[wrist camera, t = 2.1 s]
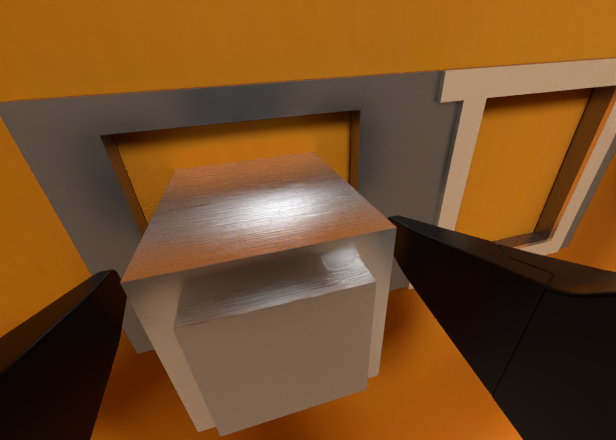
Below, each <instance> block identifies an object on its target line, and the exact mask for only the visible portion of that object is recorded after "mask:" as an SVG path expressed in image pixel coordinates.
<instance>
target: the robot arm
mask: <svg viewBox="0 0 616 440" xmlns="http://www.w3.org/2000/svg"><path fill="white" fill-rule="evenodd" d="M387 219H388V220H389V221H390V222H391V223H392V224H393V225H395V226H396V227H397V230H396V238H395V246H394V254H393V256H394V258H395V260H396V261H397V263H398V265H399V267H400V268H401V270H402V272H403V273H404V275H405V276H406V278H407V279H408V281H409V282H410V284H411V285H412V286H413V288H414V289H415V290H416V292H417V293H418V295H419V296H420V297H421V299H422V300H423V301H424V303H425V304H426V306H427V307H428V308H429V310H430V311H431V313H432V314H433V315H434V317H435V318H436V319H437V321H438V322H439V324H440V325H441V326H442V328H443V329H444V331H445V332H446V333H447V335H448V336H449V337H450V339H451V340H452V342H453V343H454V344H455V346H456V347H457V349H458V350H459V351H460V353H461V354H462V355H463V357H464V358H465V360H466V361H467V362H468V364H469V365H470V367H471V368H472V369H473V371H474V372H475V373H476V375H477V376H478V378H479V379H480V380H481V382H482V383H483V385H484V386H485V387H486V389H487V390H488V391H489V393H490V394H491V395H492V397H493V399H494V400H495V401H496V403H497V404H498V406H499V407H500V408H501V410H502V411H503V413H504V414H505V415H506V417H507V418H508V419H509V421H510V422H511V424H512V425H513V426H514V428H515V429H516V430H517V432H518V433H519V435H520V436H521V437H522V439H523V440H616V272H612V271H607V270H602V269H598V268H594V267H590V266H585V265H581V264H577V263H573V262H568V261H564V260H560V259H556V258H552V257H548V256H544V255H539V254H535V253H531V252H528V251H524V250H520V249H517V248H513V247H509V246H506V245H502V244H497V243H495V242H491V241H488V240H484V239H481V238H477V237H474V236H470V235H467V234H463V233H460V232H456V231H452V230H449V229H445V228H442V227H438V226H435V225H431V224H428V223H424V222H421V221H417V220H414V219H410V218H407V217H403V216H399V215H396V216H390V217H388V218H387ZM120 282H121V278H120V276H119V274H118V272H117V271H116V270H113V269H110V270H105V271H100V272H97V273H96V274H94V275H93V276H91V277H90V278H88V279H87V280H85V281H84V282H82V283H81V284H80V285H78V286H77V287H75V288H74V289H72V290H71V291H69V292H68V293H66V294H65V295H63V296H62V297H60V298H59V299H57V300H56V301H54V302H53V303H51V304H50V305H48V306H47V307H45V308H44V309H42V310H41V311H39V312H38V313H37V314H35V315H34V316H32V317H31V318H29V319H28V320H26V321H25V322H23V323H22V324H20V325H19V326H17V327H16V328H14V329H13V330H11V331H10V332H8V333H7V334H5V335H4V336H2V337H1V338H0V440H90V438H91V435H92V432H93V428H94V425H95V422H96V418H97V415H98V412H99V409H100V405H101V402H102V399H103V395H104V392H105V389H106V385H107V382H108V379H109V375H110V372H111V369H112V365H113V362H114V359H115V355H116V352H117V348H118V345H119V341H120V336H121V330H122V324H123V319H124V313H125V307H126V301H127V295H126V293H125V291H124V289H123V288H122V286H121V284H120Z"/></svg>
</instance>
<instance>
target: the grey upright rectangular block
mask: <svg viewBox="0 0 616 440" xmlns="http://www.w3.org/2000/svg"><path fill="white" fill-rule="evenodd" d="M396 230H397V227H396V226H395V225H393V224H392V223H391V222H390V221H389V220H388V219H387V218H386V217H385V216H384V215H382V214H381V213H380V212H379V211H378V210H377V209H376V208H375V207H374V206H373V205H371V204H370V203H369V202H368V201H367V200H366V199H365V198H364V197H363V196H361V195H360V194H359V193H358V192H357V191H356V190H355V189H354V188H353V187H352V186H350V185H349V184H348V183H347V182H346V181H345V180H344V179H343V178H342V177H341V176H339V175H338V174H337V173H336V172H335V171H334V170H333V169H332V168H331V167H330V166H328V165H327V164H326V163H325V162H324V161H323V160H322V159H321V158H320V157H318V156H317V155H316V154H315V153H314V152H310V153H302V154H295V155H287V156H279V157H271V158H264V159H256V160H248V161H240V162H233V163H225V164H217V165H209V166H201V167H194V168H186V169H178V170H175V172H174V174H173V176H172V178H171V180H170V182H169V184H168V186H167V188H166V191H165V193H164V195H163V197H162V199H161V201H160V203H159V205H158V207H157V209H156V211H155V213H154V215H153V217H152V219H151V221H150V223H149V225H148V227H147V229H146V231H145V233H144V235H143V237H142V239H141V241H140V243H139V245H138V247H137V249H136V251H135V253H134V255H133V257H132V260H131V262H130V264H129V266H128V268H127V270H126V272H125V274H124V276H123V278H122V280H121V282H120V284H121V286H122V288H123V289H124V291H125V293H126V295H127V297H128V299H129V301H130V303H131V305H132V307H133V309H134V311H135V312H136V314H137V316H138V318H139V320H140V322H141V324H142V326H143V328H144V330H145V332H146V334H147V335H148V337H149V339H150V341H151V343H152V345H153V347H154V349H155V351H156V353H157V355H158V357H159V358H160V360H161V362H162V364H163V366H164V368H165V370H166V372H167V374H168V376H169V378H170V380H171V381H172V383H173V385H174V387H175V389H176V391H177V393H178V395H179V397H180V399H181V401H182V403H183V404H184V406H185V408H186V410H187V412H188V414H189V416H190V418H191V420H192V422H193V424H194V426H195V428H196V429H197V431H198V432H200V431H203V430H207V429H210V428H213V427H216V428H217V431H218V433H219V435H220V437H221V436H224V435H227V434H230V433H233V432H237V431H240V430H243V429H246V428H249V427H252V426H255V425H258V424H261V423H264V422H267V421H270V420H274V419H277V418H280V417H283V416H286V415H289V414H292V413H295V412H298V411H301V410H304V409H307V408H310V407H314V406H317V405H320V404H323V403H326V402H329V401H332V400H335V399H338V398H341V397H344V396H347V395H350V394H354V393H357V392H360V391H363V390H366V389H367V379H368V378H371V377H374V376H377V375H378V374H379V366H380V358H381V350H382V342H383V334H384V326H385V318H386V310H387V302H388V294H389V286H390V278H391V270H392V262H393V254H394V246H395V238H396Z"/></svg>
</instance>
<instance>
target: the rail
mask: <svg viewBox="0 0 616 440" xmlns="http://www.w3.org/2000/svg"><path fill="white" fill-rule="evenodd" d="M592 87H595V88H594V91H593V93H592V96H591V98H590V100H589V103H588V105H587V108H586V110H585V112H584V115H583V117H582V120H581V122H580V124H579V127H578V129H577V132H576V134H575V136H574V139H573V141H572V143H571V146H570V148H569V151H568V153H567V155H566V158H565V160H564V163H563V165H562V167H561V170H560V172H559V175H558V177H557V179H556V182H555V184H554V186H553V189H552V191H551V194H550V196H549V198H548V201H547V203H546V206H545V208H544V210H543V213H542V215H541V218H540V220H539V222H538V225H537V227H536V229H535V232H533V233H528V234H524V235H520V236H515V237H511V238H506V239H502V240H498V241H493V242H495V243H497V244H502V245H506V246H509V247H513V248H517V249H520V250H524V251H528V252H531V253H535V254H539V255H547V254H551V253H555V252H558V251H559V249H560V248H564V247H568V245H569V243H570V241H571V239H572V237H573V235H574V233H575V231H576V229H577V227H578V225H579V223H580V221H581V219H582V217H583V215H584V213H585V211H586V209H587V207H588V205H589V203H590V201H591V199H592V197H593V195H594V193H595V191H596V189H597V187H598V185H599V183H600V181H601V179H602V177H603V175H604V173H605V171H606V169H607V167H608V165H609V163H610V161H611V159H612V157H613V155H614V153H615V151H616V57H614V58H600V59H586V60H572V61H558V62H544V63H530V64H516V65H502V66H488V67H474V68H460V69H446V70H432V71H418V72H404V73H390V74H376V75H362V76H349V77H335V78H321V79H307V80H293V81H279V82H265V83H251V84H237V85H223V86H209V87H195V88H181V89H167V90H153V91H139V92H125V93H111V94H97V95H83V96H69V97H55V98H41V99H27V100H13V101H6V102H0V116H1V118H2V120H3V121H4V123H5V125H6V127H7V128H8V130H9V132H10V133H11V135H12V137H13V139H14V140H15V142H16V144H17V146H18V147H19V149H20V151H21V153H22V154H23V156H24V158H25V160H26V161H27V163H28V165H29V166H30V168H31V170H32V172H33V173H34V175H35V177H36V179H37V180H38V182H39V184H40V186H41V187H42V189H43V191H44V193H45V194H46V196H47V198H48V200H49V201H50V203H51V205H52V206H53V208H54V210H55V212H56V213H57V215H58V217H59V219H60V220H61V222H62V224H63V226H64V227H65V229H66V231H67V233H68V234H69V236H70V238H71V239H72V241H73V243H74V245H75V246H76V248H77V250H78V252H79V253H80V255H81V257H82V259H83V260H84V262H85V264H86V266H87V267H88V269H89V271H90V273H91V274H92V276H93V275H94V274H96V273H97V272H100V271H105V270H110V269H113V270H116V271H117V272H118V274H119V276H120V278H121V280H122V278H123V276H124V274H125V272H126V270H127V268H128V266H129V264H130V262H131V260H132V257H133V255H134V253H135V251H136V249H137V247H138V245H139V243H140V241H141V239H142V237H143V235H144V233H145V231H146V229H147V227H148V225H147V223H146V220H145V218H144V215H143V213H142V210H141V208H140V205H139V203H138V200H137V198H136V195H135V193H134V190H133V187H132V185H131V182H130V180H129V177H128V175H127V172H126V170H125V167H124V165H123V162H122V160H121V157H120V155H119V152H118V150H117V147H116V145H115V142H114V140H113V137H112V135H111V134H118V133H128V132H138V131H148V130H158V129H168V128H178V127H189V126H199V125H209V124H219V123H229V122H239V121H249V120H260V119H270V118H280V117H290V116H300V115H310V114H320V113H331V112H341V111H351V148H350V186H352V187H353V188H354V189H355V190H356V191H357V192H358V193H359V194H360V195H361V196H363V197H364V198H365V199H366V200H367V201H368V202H369V203H370V204H371V205H373V206H374V207H375V208H376V209H377V210H378V211H379V212H380V213H381V214H382V215H384V216H385V217H386V218H388V217H390V216H396V215H399V216H403V217H407V218H410V219H414V220H417V221H421V222H424V223H428V224H431V225H435V226H438V227H442V228H445V229H449V230H452V231H454V229H455V225H456V221H457V217H458V213H459V209H460V205H461V201H462V197H463V193H464V189H465V184H466V180H467V176H468V172H469V168H470V164H471V160H472V156H473V152H474V148H475V144H476V140H477V136H478V132H479V128H480V124H481V120H482V116H483V112H484V108H485V103H486V99H487V98H491V97H501V96H512V95H522V94H532V93H542V92H552V91H562V90H572V89H582V88H592ZM404 287H407V288H408V289H412V288H413V286H412V285H411V284H410V282H409V281H408V279H407V278H406V276H405V275H404V273H403V272H402V270H401V268H400V267H399V265H398V263H397V261H396V260H395V258H394V256H393V262H392V270H391V278H390V286H389V291H392V290H396V289H400V288H404ZM122 328H123V330H124V332H125V333H126V335H127V337H128V339H129V340H130V342H131V344H132V346H133V347H134V349H135V351H136V352H137V354H139V353H143V352H147V351H151V350H155V349H154V347H153V345H152V343H151V341H150V339H149V337H148V335H147V334H146V332H145V330H144V328H143V326H142V324H141V322H140V320H139V318H138V316H137V314H136V312H135V311H134V309H133V307H132V305H131V303H130V301H129V299H128V297H127V301H126V307H125V313H124V319H123V324H122Z"/></svg>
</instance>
